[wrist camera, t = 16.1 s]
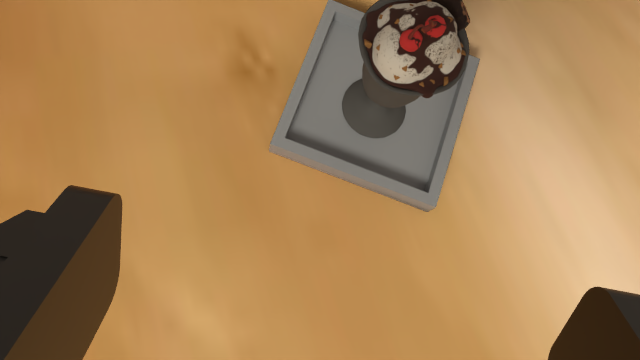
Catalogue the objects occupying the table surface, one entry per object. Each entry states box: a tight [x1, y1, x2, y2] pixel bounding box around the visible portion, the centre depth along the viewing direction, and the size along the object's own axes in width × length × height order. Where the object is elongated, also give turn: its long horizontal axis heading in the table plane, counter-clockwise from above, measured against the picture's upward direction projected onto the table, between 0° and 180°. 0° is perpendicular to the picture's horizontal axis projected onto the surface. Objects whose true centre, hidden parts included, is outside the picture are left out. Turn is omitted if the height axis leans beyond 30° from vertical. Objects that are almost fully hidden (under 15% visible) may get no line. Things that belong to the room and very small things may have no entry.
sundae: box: [342, 0, 470, 138], centre depth 33 cm, size 7×7×15 cm
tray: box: [269, 0, 480, 212], centre depth 40 cm, size 13×13×2 cm
